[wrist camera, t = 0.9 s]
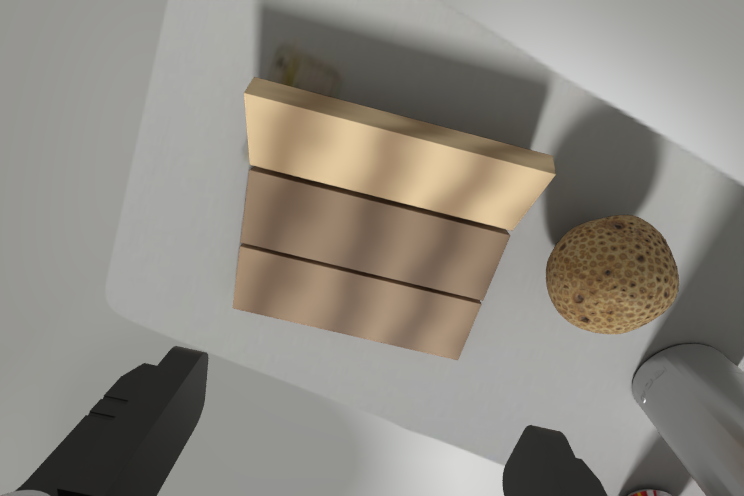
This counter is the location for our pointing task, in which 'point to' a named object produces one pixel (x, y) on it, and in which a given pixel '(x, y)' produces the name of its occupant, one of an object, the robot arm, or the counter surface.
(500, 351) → the counter surface
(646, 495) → the soda can
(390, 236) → the laid floor
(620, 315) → the natural sponge
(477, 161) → the board
